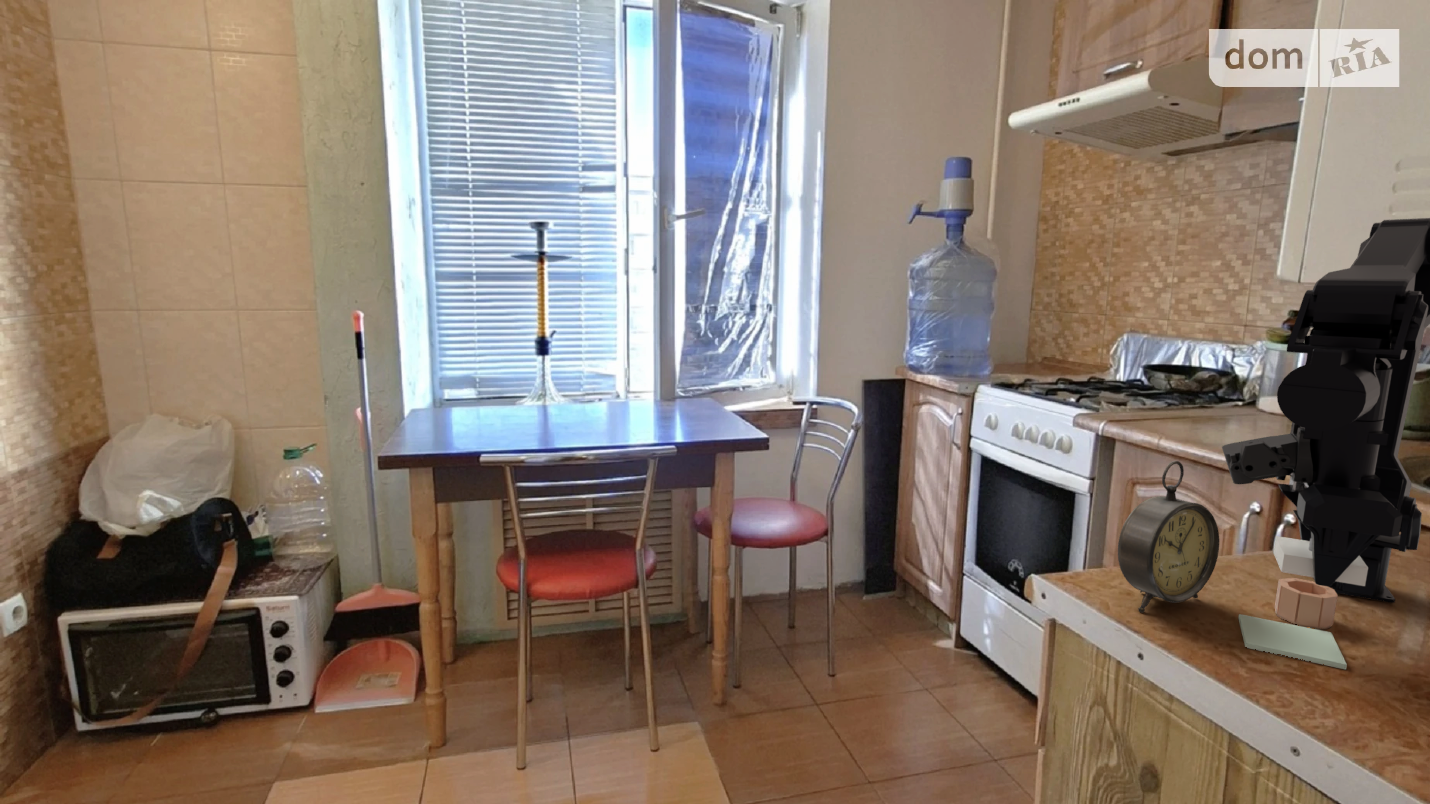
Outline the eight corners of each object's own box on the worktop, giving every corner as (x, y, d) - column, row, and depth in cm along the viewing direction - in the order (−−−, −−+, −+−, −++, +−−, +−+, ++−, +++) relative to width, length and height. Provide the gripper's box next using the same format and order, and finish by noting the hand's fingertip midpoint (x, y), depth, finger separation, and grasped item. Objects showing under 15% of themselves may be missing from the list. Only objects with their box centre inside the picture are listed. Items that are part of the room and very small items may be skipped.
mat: (1238, 618, 75) (1238, 613, 75) (1330, 636, 71) (1331, 632, 71) (1245, 647, 69) (1246, 642, 69) (1346, 669, 65) (1346, 664, 65)
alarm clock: (1146, 621, 74) (1164, 472, 71) (1101, 599, 79) (1116, 459, 76) (1215, 603, 78) (1234, 461, 75) (1169, 584, 83) (1185, 450, 80)
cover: (1273, 552, 72) (1277, 526, 71) (1350, 565, 69) (1355, 538, 68) (1281, 572, 67) (1285, 544, 67) (1365, 586, 64) (1369, 557, 64)
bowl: (1272, 604, 78) (1276, 575, 77) (1326, 615, 76) (1331, 584, 75) (1278, 622, 74) (1283, 590, 73) (1335, 633, 72) (1340, 601, 71)
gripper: (1226, 393, 77) (1208, 528, 80) (1244, 424, 62) (1221, 591, 64) (1361, 402, 72) (1337, 548, 74) (1418, 439, 56) (1385, 622, 59)
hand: (1316, 573), depth 68 cm, fingers closed on cover, 5 cm apart
